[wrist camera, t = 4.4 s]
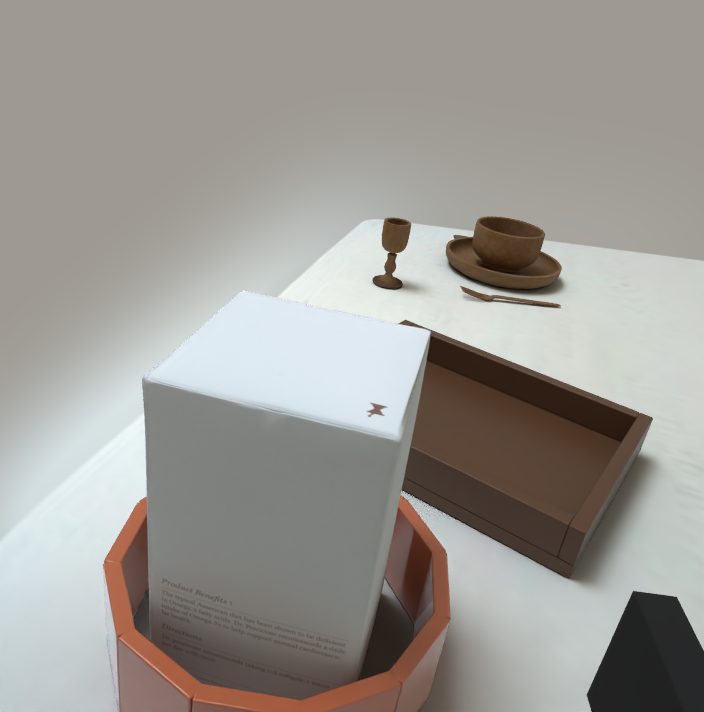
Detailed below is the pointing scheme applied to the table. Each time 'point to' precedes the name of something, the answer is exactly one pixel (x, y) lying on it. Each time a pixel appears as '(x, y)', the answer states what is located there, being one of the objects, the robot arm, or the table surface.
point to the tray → (518, 451)
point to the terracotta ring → (243, 708)
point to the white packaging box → (276, 491)
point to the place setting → (484, 255)
